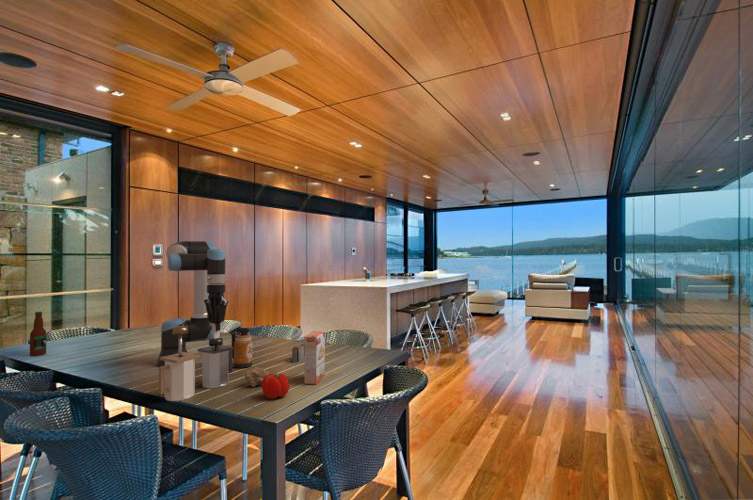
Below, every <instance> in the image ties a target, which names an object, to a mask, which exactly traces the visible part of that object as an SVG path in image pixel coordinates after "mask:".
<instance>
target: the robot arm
mask: <svg viewBox="0 0 753 500" xmlns="http://www.w3.org/2000/svg"><path fill="white" fill-rule="evenodd" d="M165 254H166V257H167V269H168V271H174V272H178V271H180V272H183V271H184V272H185V271H194V272H193V312H192V314H191V315H190V317H189V318H190V319H188V320H187V318H186V317H176V318H170V319H167V320H164V321H163V322H162V323H161V330H160V332H161V333H160V334H161V336H160V337H161V340H160V352H159V354H158V355H159V356H158V357H157V362H156V363H157V364H156V365H157V367H161V366H165V361H162V360H160V357H164V356H169V355H173V354H178V353H179V335H173V327H176V326H188V334H183V335H182V352H186V353H188V350H187V343H191V342H201V341H204V342H205V341H209V339H210V338H212V339H216V338H221V337H220V335H221V323H223V322H225V318H226V312H227V306H228V304H229V300H228V299H225V295H224V294H225V292H226V284H225V283H226V258H227V256H226V250H225V249H224V248H217V246H216V245H215V243H214V242H213V241H206V240H204V241H202V240H201V241H198V240H195V241H193V240H192V241H190V240H188V241H187V240H181V241H177V242H174V243H171V245H169V246H168V248H167V249H166V253H165Z"/></svg>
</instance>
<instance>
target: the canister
mask: <svg viewBox="0 0 753 500" xmlns="http://www.w3.org/2000/svg"><path fill="white" fill-rule="evenodd" d="M251 331H252V329H251V328H250V327H241V326H239V327H236V328H234V329H233V330H231V331H230V336H231V346H232V347H234V349H232V350H233V351H232V360H233V368H234V367H235V368H237V369H246V368H249V367H250V366H252V365H253V340H252V336H251V334H250V333H249V332H251Z"/></svg>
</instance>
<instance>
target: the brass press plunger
mask: <svg viewBox="0 0 753 500" xmlns="http://www.w3.org/2000/svg"><path fill="white" fill-rule="evenodd" d="M183 334H188V326H176V327H173V335H179V357H182V335H183Z"/></svg>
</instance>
